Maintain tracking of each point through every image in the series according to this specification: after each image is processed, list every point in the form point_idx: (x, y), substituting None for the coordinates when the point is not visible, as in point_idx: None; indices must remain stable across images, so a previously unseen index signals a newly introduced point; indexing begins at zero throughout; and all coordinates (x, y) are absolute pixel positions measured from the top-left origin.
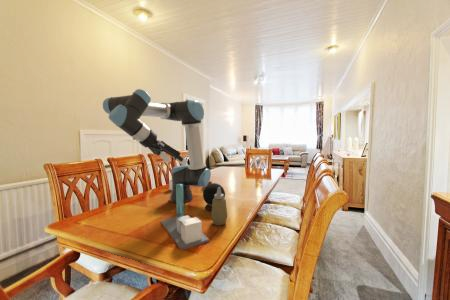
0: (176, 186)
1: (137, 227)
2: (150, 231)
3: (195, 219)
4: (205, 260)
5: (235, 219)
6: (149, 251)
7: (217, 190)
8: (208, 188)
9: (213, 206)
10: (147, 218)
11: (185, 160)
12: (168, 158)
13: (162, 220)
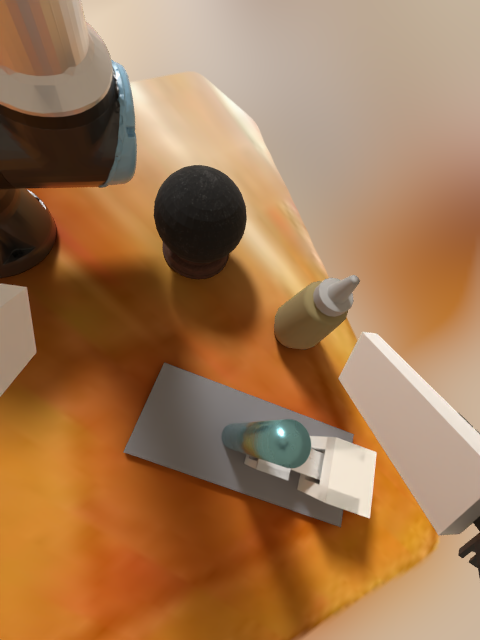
0: (286, 467)
1: (74, 556)
2: (158, 530)
3: (350, 454)
4: (407, 507)
5: None
6: (279, 611)
7: (346, 292)
8: (204, 221)
9: (314, 333)
10: (31, 469)
11: (393, 356)
12: (4, 331)
13: (130, 448)
